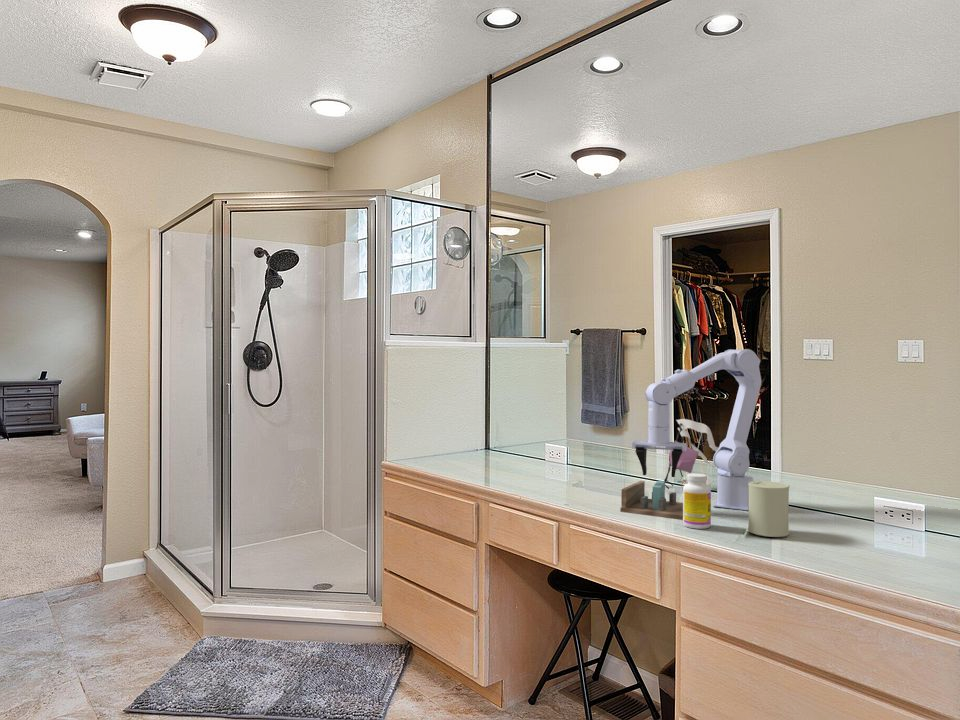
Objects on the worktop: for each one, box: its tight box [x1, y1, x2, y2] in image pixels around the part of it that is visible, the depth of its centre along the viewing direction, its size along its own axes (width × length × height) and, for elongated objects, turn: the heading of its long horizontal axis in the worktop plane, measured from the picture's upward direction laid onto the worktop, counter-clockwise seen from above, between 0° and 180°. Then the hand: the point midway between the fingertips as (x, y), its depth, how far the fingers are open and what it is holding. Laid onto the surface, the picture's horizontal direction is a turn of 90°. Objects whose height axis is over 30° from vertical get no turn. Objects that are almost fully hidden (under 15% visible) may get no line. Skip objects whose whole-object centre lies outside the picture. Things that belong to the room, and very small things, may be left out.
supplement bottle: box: [682, 472, 712, 530], centre depth 171 cm, size 7×7×13 cm
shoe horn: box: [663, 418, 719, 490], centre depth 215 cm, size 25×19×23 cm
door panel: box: [652, 480, 666, 510], centre depth 190 cm, size 2×10×6 cm, turn 158°
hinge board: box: [619, 480, 683, 521], centre depth 189 cm, size 18×16×6 cm
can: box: [747, 480, 790, 538], centre depth 166 cm, size 9×9×12 cm
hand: (658, 475), depth 190 cm, fingers open, 7 cm apart
